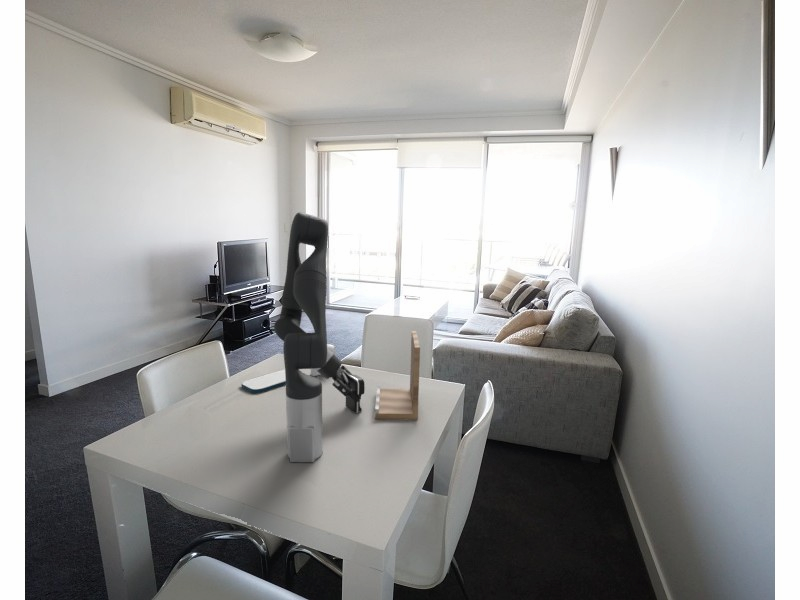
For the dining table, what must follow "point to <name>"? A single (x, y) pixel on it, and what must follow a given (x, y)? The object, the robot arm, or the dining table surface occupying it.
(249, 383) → the external hard drive
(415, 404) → the shelf
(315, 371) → the photo printer
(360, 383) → the battery charger
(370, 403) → the dining table surface
